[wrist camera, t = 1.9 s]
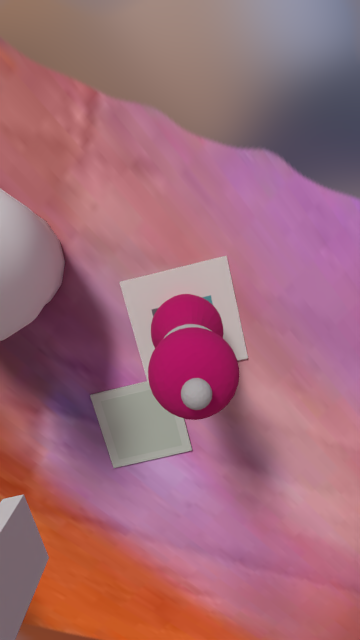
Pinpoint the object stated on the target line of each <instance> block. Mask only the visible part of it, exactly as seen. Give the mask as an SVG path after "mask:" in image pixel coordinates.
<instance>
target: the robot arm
mask: <svg viewBox="0 0 360 640" xmlns="http://www.w3.org/2000/svg"><path fill="white" fill-rule="evenodd" d="M48 558H49V557H48V554H47V552H46V549H45V547H44V544H43V542H42V539H41V537H40V534H39V532H38V529H37V527H36V524H35V522H34V519H33V517H32V514H31V512H30V509H29V506H28V504H27V501H26V499H25V496H24V495H19V496H15V497H10V498H6V499H3V500H2V501H1V503H0V640H15V639H16V636H17V634H18V631H19V629H20V626H21V624H22V622H23V619H24V617H25V614H26V612H27V610H28V607H29V605H30V602H31V600H32V597H33V595H34V593H35V590H36V588H37V585H38V583H39V580H40V578H41V575H42V573H43V571H44V568H45V566H46V563H47V561H48Z"/></svg>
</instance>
